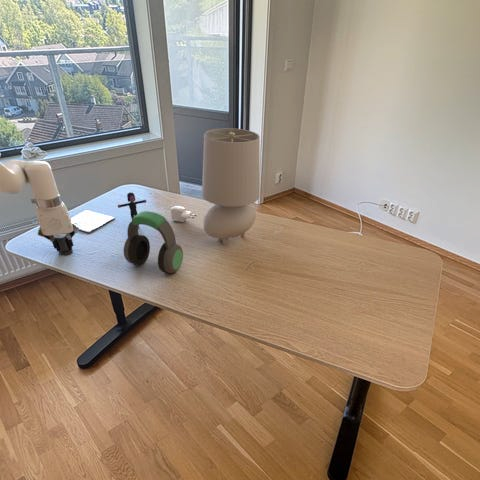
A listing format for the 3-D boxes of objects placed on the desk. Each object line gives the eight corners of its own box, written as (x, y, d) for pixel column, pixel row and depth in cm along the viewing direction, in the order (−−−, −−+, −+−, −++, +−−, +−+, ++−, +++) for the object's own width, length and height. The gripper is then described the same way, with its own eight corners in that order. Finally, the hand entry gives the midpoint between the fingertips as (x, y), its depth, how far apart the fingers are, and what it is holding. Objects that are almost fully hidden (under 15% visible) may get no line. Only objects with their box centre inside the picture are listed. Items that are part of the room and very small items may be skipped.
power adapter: (198, 221, 154) (197, 209, 150) (193, 226, 151) (192, 213, 147) (175, 217, 157) (174, 204, 153) (170, 221, 153) (169, 208, 149)
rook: (59, 256, 128) (53, 239, 123) (59, 250, 131) (53, 233, 127) (72, 254, 129) (67, 237, 125) (72, 248, 133) (67, 231, 128)
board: (89, 233, 142) (88, 232, 141) (59, 225, 146) (59, 223, 146) (114, 218, 153) (114, 217, 152) (86, 211, 157) (86, 209, 157)
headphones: (185, 265, 127) (182, 213, 114) (171, 280, 119) (165, 227, 106) (141, 254, 131) (132, 203, 118) (124, 268, 124) (113, 215, 110)
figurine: (124, 232, 144) (117, 197, 134) (121, 228, 146) (113, 193, 136) (151, 226, 149) (146, 191, 139) (148, 222, 151) (143, 188, 141)
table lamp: (239, 223, 154) (244, 123, 128) (268, 244, 141) (279, 137, 114) (193, 235, 144) (188, 128, 118) (219, 259, 131) (219, 145, 105)
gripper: (20, 208, 112) (39, 257, 124) (75, 202, 117) (88, 250, 129) (22, 199, 117) (40, 247, 130) (74, 194, 122) (87, 241, 134)
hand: (64, 248), depth 129 cm, fingers closed on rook, 3 cm apart
